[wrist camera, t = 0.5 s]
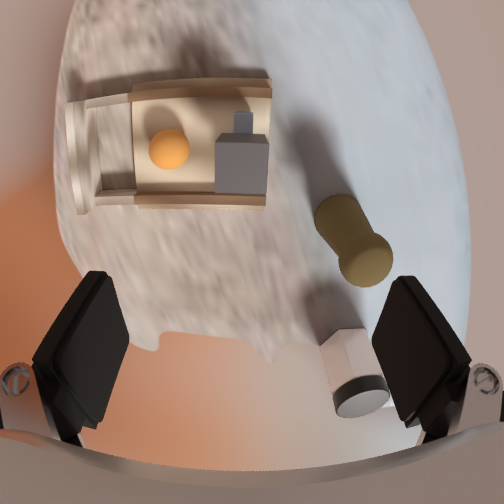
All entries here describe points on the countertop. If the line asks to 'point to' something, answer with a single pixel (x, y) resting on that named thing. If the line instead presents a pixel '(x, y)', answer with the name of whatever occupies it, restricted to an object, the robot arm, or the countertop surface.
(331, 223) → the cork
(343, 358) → the jar
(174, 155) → the ball
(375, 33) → the countertop surface
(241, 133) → the grey stepped block
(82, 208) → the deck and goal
